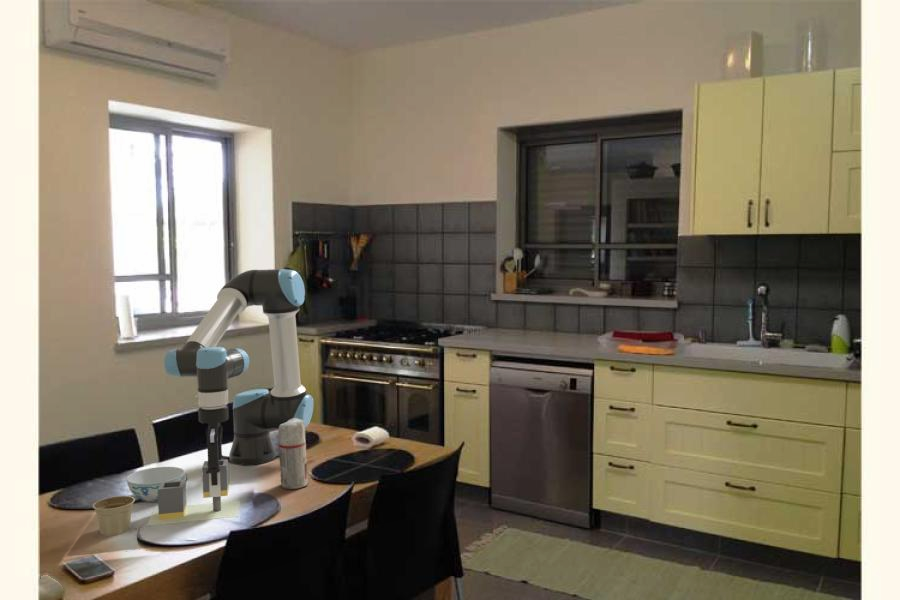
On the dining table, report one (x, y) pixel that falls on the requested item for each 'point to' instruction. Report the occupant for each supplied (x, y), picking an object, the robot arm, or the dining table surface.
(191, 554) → the dining table surface
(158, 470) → the chinaware
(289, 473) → the spray can
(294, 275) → the robot arm
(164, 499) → the sleeve seated
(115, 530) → the flower pot
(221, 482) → the sleeve
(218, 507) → the pin board
